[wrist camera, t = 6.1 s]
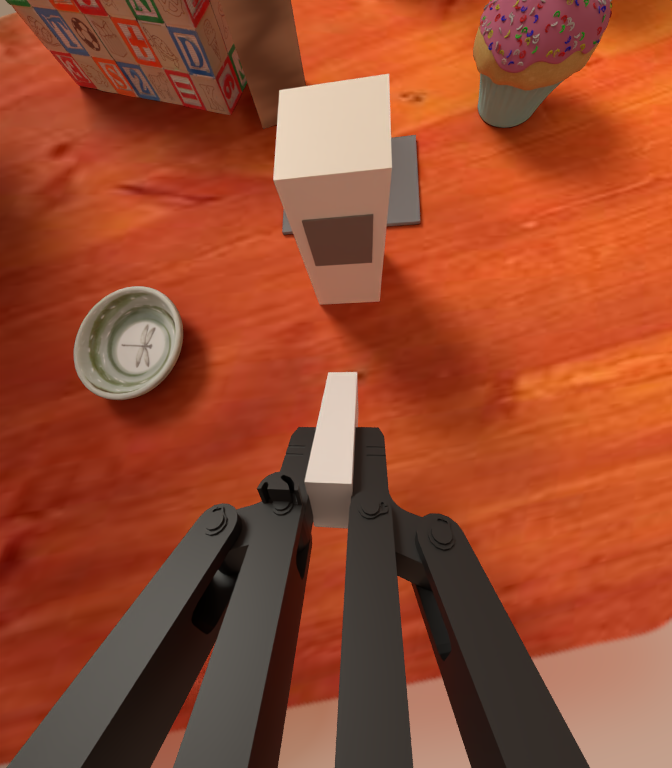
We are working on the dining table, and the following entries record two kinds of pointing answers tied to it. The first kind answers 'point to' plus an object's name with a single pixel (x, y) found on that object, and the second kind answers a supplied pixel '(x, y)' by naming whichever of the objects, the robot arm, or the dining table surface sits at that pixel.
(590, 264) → the dining table surface
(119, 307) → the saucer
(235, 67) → the stack of blocks
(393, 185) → the mat
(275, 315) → the dining table surface
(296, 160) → the cream block
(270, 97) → the walnut block
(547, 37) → the cupcake
